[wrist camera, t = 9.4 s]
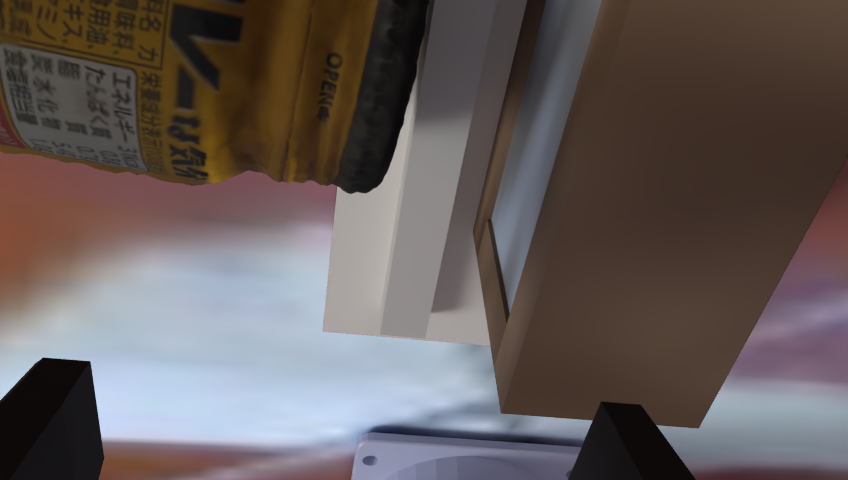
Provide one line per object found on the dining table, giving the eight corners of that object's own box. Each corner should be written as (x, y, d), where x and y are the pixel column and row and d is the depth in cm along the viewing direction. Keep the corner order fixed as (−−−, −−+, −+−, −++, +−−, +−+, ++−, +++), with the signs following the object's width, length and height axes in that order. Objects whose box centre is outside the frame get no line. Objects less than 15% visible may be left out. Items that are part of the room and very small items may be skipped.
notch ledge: (684, 339, 23) (706, 388, 22) (324, 307, 22) (319, 357, 20) (1136, -596, 12) (1256, -642, 10) (437, -784, 10) (446, -869, 9)
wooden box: (622, 246, 20) (698, 428, 15) (472, 230, 19) (500, 413, 15) (838, -315, 13) (1106, -315, 8) (612, -362, 12) (755, -392, 8)
